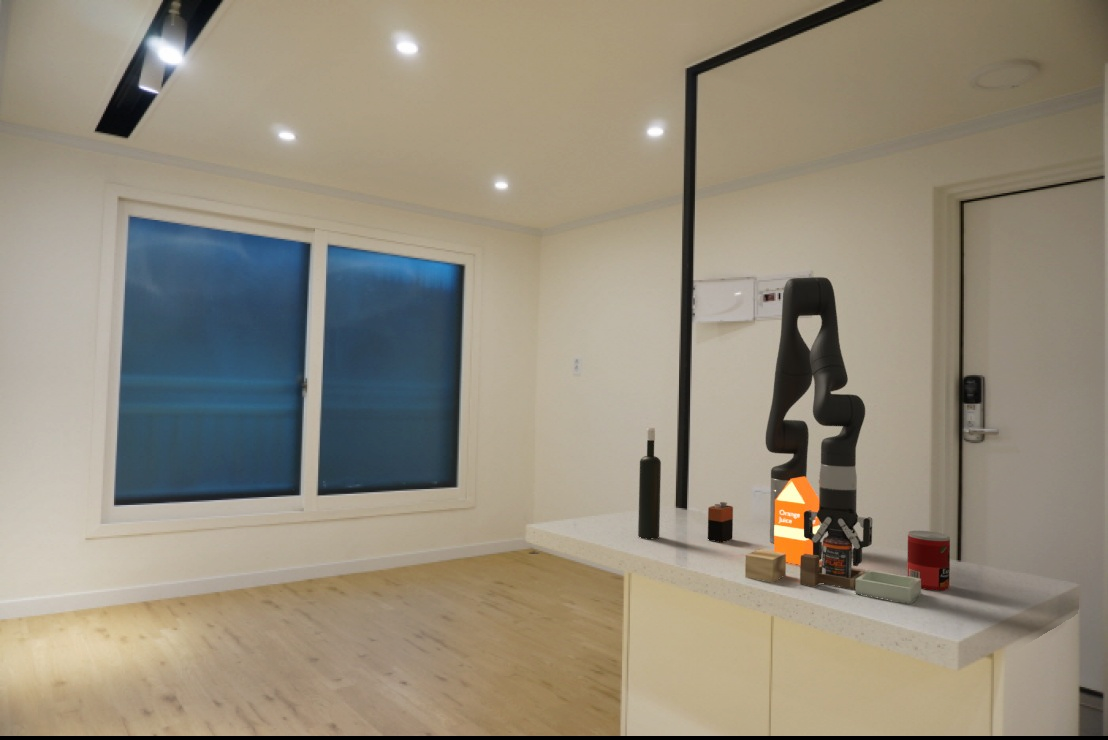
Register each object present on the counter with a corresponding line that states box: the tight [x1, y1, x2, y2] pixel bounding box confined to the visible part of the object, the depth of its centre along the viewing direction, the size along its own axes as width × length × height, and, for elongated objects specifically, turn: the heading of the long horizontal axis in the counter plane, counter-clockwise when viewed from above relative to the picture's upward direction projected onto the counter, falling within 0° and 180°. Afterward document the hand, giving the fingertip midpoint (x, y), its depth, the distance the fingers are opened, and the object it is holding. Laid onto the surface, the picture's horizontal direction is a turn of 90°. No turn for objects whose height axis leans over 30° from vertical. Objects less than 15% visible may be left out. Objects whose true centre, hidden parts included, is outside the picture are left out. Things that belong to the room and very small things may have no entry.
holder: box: [819, 563, 866, 590], centre depth 151 cm, size 9×9×2 cm
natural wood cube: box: [744, 548, 787, 583], centre depth 154 cm, size 8×6×5 cm
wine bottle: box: [637, 427, 662, 540], centre depth 193 cm, size 6×6×30 cm
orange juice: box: [773, 476, 821, 566], centre depth 170 cm, size 8×9×20 cm
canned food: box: [906, 530, 951, 592], centre depth 150 cm, size 8×8×11 cm
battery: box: [707, 501, 734, 543], centre depth 192 cm, size 4×7×10 cm, turn 139°
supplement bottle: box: [821, 528, 853, 579], centre depth 152 cm, size 6×6×11 cm
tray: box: [854, 570, 922, 605], centre depth 142 cm, size 10×10×3 cm
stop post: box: [799, 553, 820, 588], centre depth 148 cm, size 3×3×6 cm
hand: (836, 562), depth 151 cm, fingers open, 7 cm apart
